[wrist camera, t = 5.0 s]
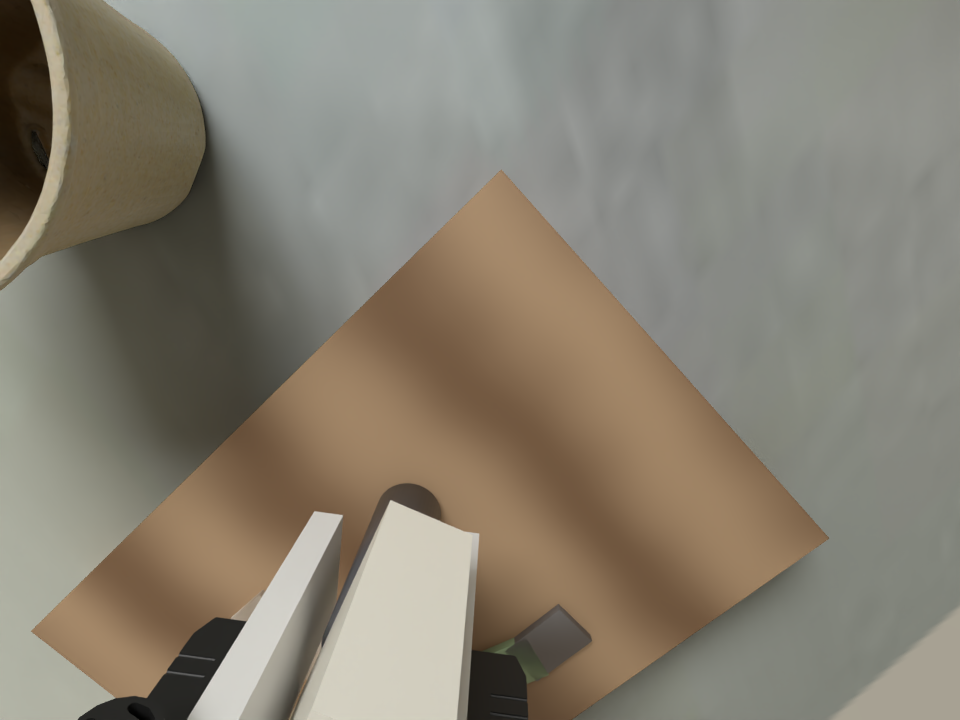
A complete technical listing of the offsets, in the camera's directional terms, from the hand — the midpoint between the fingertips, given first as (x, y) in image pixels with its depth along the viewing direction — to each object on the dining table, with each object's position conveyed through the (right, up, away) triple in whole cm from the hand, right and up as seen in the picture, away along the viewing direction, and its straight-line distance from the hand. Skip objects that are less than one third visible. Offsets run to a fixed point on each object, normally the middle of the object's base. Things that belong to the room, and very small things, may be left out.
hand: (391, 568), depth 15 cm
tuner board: (0, -1, +7) cm, 7 cm away
